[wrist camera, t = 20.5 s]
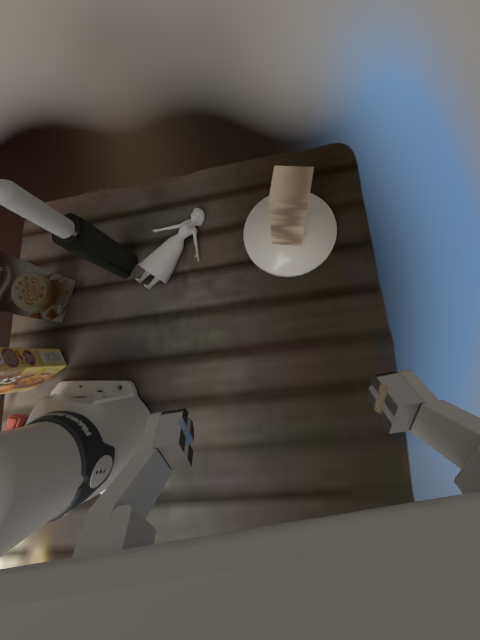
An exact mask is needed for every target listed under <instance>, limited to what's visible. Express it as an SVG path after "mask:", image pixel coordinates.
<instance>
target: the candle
mask: <svg viewBox="0 0 480 640" xmlns="http://www.w3.org/2000/svg"><path fill="white" fill-rule="evenodd" d="M0 205H2V206H4V207H6V208H7V209H9V210H11V211H13V212H15V213H17V214H19V215H20V216H22V217H24V218H26V219H27V220H29V221H31V222H33V223H35V224H37V225H38V226H40V227H42V228H44V229H46V230H48V231H49V232H51V233H52V240H53V241H54V242H55V243H56V244H58V245H60V246H61V247H63V248H65V249H66V250H68V251H70V252H72V253H74V254H76V255H78V256H80V257H82V258H84V259H86V260H88V261H90V262H92V263H94V264H96V265H98V266H100V267H102V268H104V269H106V270H108V271H110V272H112V273H114V274H116V275H118V276H120V277H122V278H128V277H129V276H130V273H131V271H132V269H133V268H134V266H135V265H136V264H137V263H138V258H137V256H135V255H134V254H133V253H131V252H130V251H128V250H127V249H126V248H124V247H123V246H121V245H120V244H118V243H117V242H116V241H114V240H113V239H111V238H110V237H108V236H107V235H106V234H104V233H103V232H101V231H100V230H99V229H97V228H96V227H94V226H93V225H91V224H90V223H89V222H87V221H86V220H84V219H82V218H80V217H78V216H76V215H75V214H72V213H68V214H66V215H62V214H61V213H59V212H58V211H56V210H55V209H53V208H51V207H50V206H48V205H47V204H45V203H44V202H42V201H41V200H39V199H38V198H36V197H35V196H33V195H32V194H30V193H29V192H27V191H25V190H24V189H22V188H21V187H19V186H18V185H16V184H15V183H13V182H12V181H9V180H3V179H0Z"/></svg>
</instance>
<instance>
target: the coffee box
mask: <svg viewBox="0 0 480 640" xmlns="http://www.w3.org/2000/svg"><path fill="white" fill-rule="evenodd" d="M75 283H76V281H74V280H72V279H69V278H67V277H64V276H62V275H59V274H56V273H54V272H51V271H49V270H46V269H44V268H41V267H38V266H36V265H33V264H31V263H28V262H26V261H23V260H20V259H18V258H15V257H13V256H10V255H8V254H5V253H3V252H0V312H5V313H10V314H16V315H21V316H26V317H32V318H37V319H42V320H47V321H52V322H57V323H62V322H63V319H64V316H65V313H66V310H67V307H68V304H69V301H70V298H71V295H72V292H73V289H74V286H75Z"/></svg>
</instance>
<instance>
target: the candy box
mask: <svg viewBox="0 0 480 640" xmlns="http://www.w3.org/2000/svg"><path fill="white" fill-rule="evenodd" d="M66 366H67V364H66V362H65V360H64V357H63V355H62V353H61V351H60V349H42V348H9V347H0V394H5V393H12V392H19V391H26V390H33V389H34V388H36V387H37V386H39V385H40V384H42V383H43V382H44V381H46V380H47V379H49V378H50V377H52V376H53V375H55V374H56V373H58V372H59V371H61V370H62V369H63V368H65V367H66Z"/></svg>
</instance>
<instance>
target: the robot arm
mask: <svg viewBox="0 0 480 640" xmlns="http://www.w3.org/2000/svg"><path fill="white" fill-rule="evenodd" d="M370 382H371V384H372V385H371V386H370V387H369V389H368V397H369V401H370V403H371V405H372V407H373V409H374V410H375V411H377V412H379V413H380V414H381V415H380V420H381V422H382V423H383V425H384V426H385V428H386V429H387V431H388V433H389V434H390V433H397V432H404V431H410V432H411V433H413V434H414V435H415V436H416V437H418V438H419V439H421V440H422V441H423V442H425V443H426V444H427V445H429V446H430V447H432V448H433V449H434V450H436V451H437V452H439V453H440V454H441V455H443V456H444V457H445V458H447V459H448V460H449V461H451V462H452V463H453V464H455V465H456V466H458V467H459V468H461V471H460V472H459V474H458V475H457V476H456V478H455V481H454V482H455V484H456V485H457V486H458V488H459V489H460V490H461V492H462V493H463V494H461V495H455V496H449V497H443V498H436V499H430V500H424V501H418V502H412V503H406V504H399V505H393V506H387V507H381V508H375V509H369V510H363V511H356V512H350V513H344V514H338V515H332V516H326V517H319V518H313V519H307V520H301V521H295V522H289V523H282V524H276V525H270V526H264V527H258V528H252V529H246V530H239V531H233V532H227V533H221V534H215V535H209V536H203V537H196V538H190V539H184V540H178V541H172V542H166V543H159V544H154V540H155V533H156V530H155V529H154V527H153V526H152V525H150V524H149V523H148V522H147V521H146V520H145V519H146V517H147V515H148V514H149V512H150V510H151V508H152V507H153V505H154V503H155V501H156V500H157V498H158V496H159V494H160V493H161V491H162V489H163V487H164V486H165V484H166V482H167V480H168V479H169V477H170V475H171V473H172V471H173V470H178V469H183V468H188V467H192V457H193V450H192V448H191V446H190V445H191V444H192V442H193V441H194V426H193V422H192V420H191V419H190V418H188V411H187V410H186V408H185V409H178V410H171V411H164V412H158V413H152V414H150V412H149V410H148V409H147V407H146V406H145V404H144V403H143V402H142V401H141V400H140V398H139V397H138V394H137V391H136V388H135V385H134V383H133V382H132V381H130V380H67V381H61V382H59V383H58V384H57V385H56V386H55V388H54V389H53V390H52V392H51V394H50V395H49V396H47V397H44V398H42V399H41V400H40V401H39V402H38V403H37V404H36V405H35V407H34V408H33V410H32V412H31V414H30V416H29V419H28V422H27V425H25V423H26V421H27V418H28V416H27V415H22V414H16V415H12V416H9V417H8V420H7V427H6V428H5V431H2V432H0V557H1V556H2V555H4V554H5V553H6V552H8V551H9V550H10V549H12V548H13V547H14V546H16V545H17V544H18V543H20V542H21V541H22V540H24V539H25V538H26V537H28V536H29V535H30V534H32V533H33V532H34V531H36V530H37V529H39V528H40V527H41V526H43V525H44V524H45V523H48V522H51V521H54V520H56V519H58V518H60V517H62V516H63V515H66V514H67V513H69V512H71V511H72V509H74V508H75V507H77V506H78V505H80V504H81V503H83V502H85V501H86V500H88V499H90V498H92V497H93V496H95V495H97V494H99V493H100V494H102V495H101V496H100V497H99V498H98V499H97V501H96V502H95V503H94V504H93V506H92V507H91V508H90V509H89V512H88V514H87V517H86V520H85V523H84V526H83V528H82V531H81V534H80V537H79V539H78V542H77V545H76V548H75V551H74V553H73V556H72V558H67V559H61V560H55V561H49V562H43V563H37V564H31V565H25V566H19V567H13V568H7V569H0V640H480V418H479V417H477V416H475V415H473V414H470V413H469V412H466V411H464V410H462V409H460V408H458V407H456V406H454V405H452V404H450V403H448V402H446V401H444V400H438V399H437V398H436V397H435V395H434V394H433V393H432V392H431V391H430V390H429V389H428V388H427V387H426V386H425V385H424V384H423V382H422V381H421V380H420V379H419V378H418V377H417V376H416V375H415V374H414V373H413V372H412V371H411V370H409V369H407V370H401V371H396V372H395V371H394V372H389V373H383V374H378V375H373V376H372V377H371V379H370ZM120 386H122V389H120ZM24 425H25V426H24Z"/></svg>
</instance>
